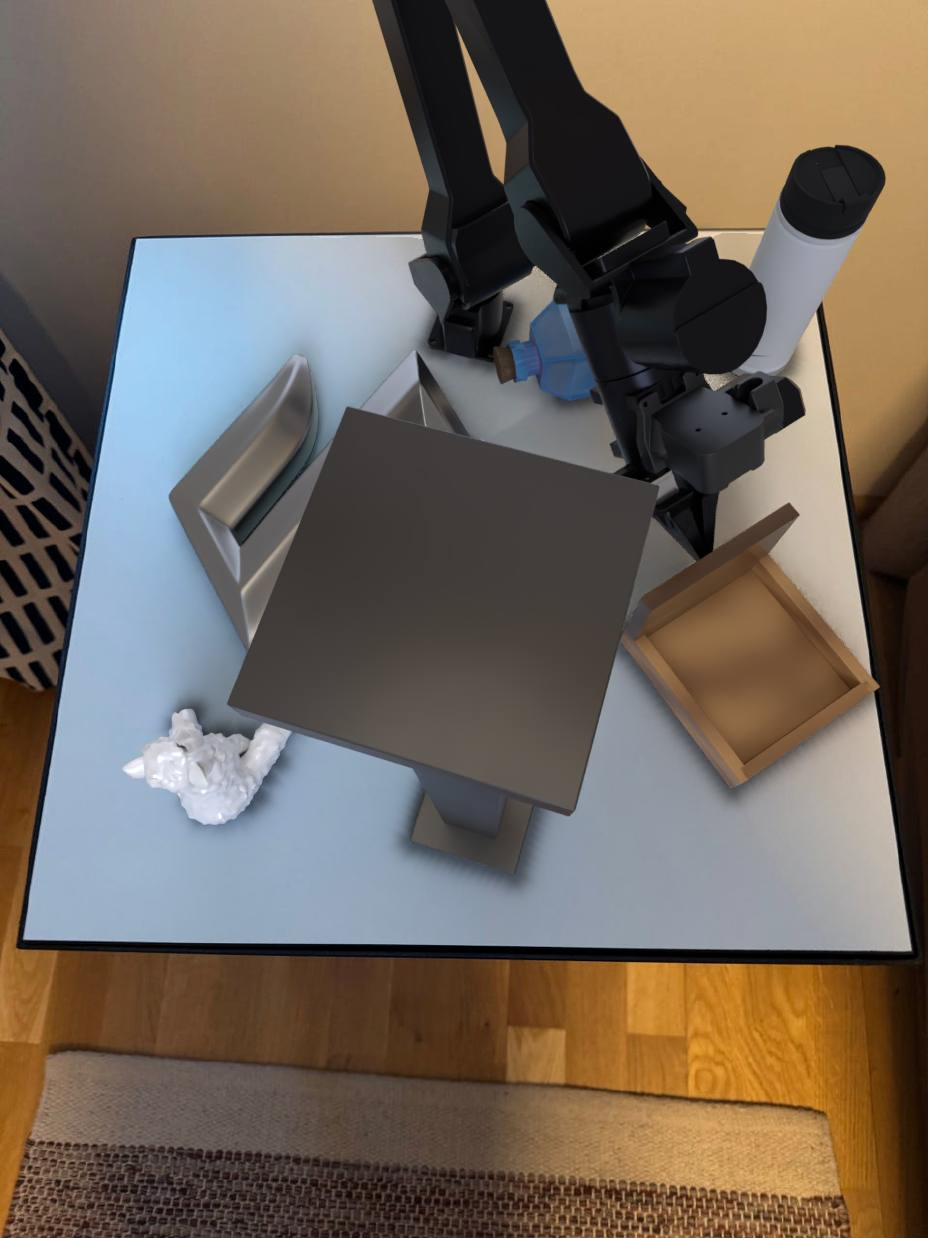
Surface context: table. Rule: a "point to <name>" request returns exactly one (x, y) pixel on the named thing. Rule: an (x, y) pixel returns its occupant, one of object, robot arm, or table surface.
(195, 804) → the white creature statuette
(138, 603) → the table surface
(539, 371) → the perfume bottle
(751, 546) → the oak drawer
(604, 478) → the plant stand
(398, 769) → the table surface
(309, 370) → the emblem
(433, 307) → the robot arm
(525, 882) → the table surface
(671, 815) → the table surface
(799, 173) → the travel mug
